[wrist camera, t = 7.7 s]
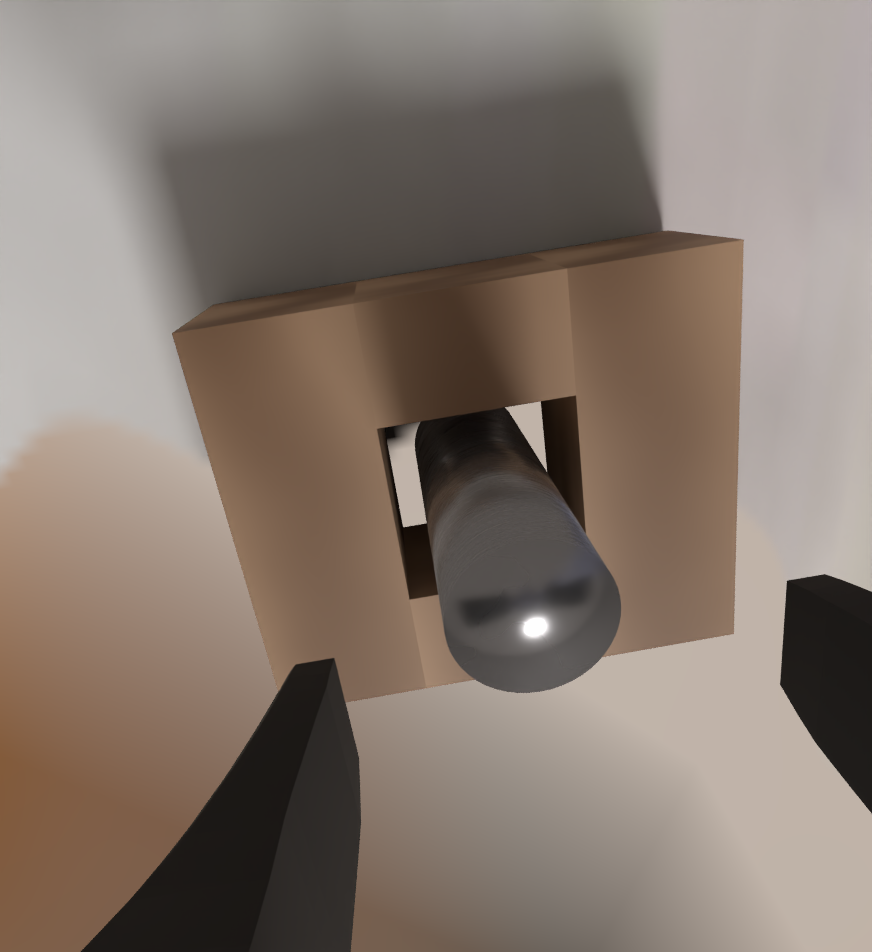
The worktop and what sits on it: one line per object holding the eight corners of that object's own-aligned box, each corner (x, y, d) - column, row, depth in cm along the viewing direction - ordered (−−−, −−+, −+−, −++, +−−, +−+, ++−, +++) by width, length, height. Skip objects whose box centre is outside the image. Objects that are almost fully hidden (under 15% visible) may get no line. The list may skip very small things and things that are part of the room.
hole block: (667, 230, 18) (743, 239, 14) (672, 559, 22) (733, 633, 18) (213, 304, 18) (171, 333, 14) (299, 624, 22) (285, 713, 18)
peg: (513, 385, 19) (618, 526, 11) (522, 483, 20) (623, 677, 12) (407, 401, 19) (432, 555, 11) (422, 498, 20) (454, 705, 12)
